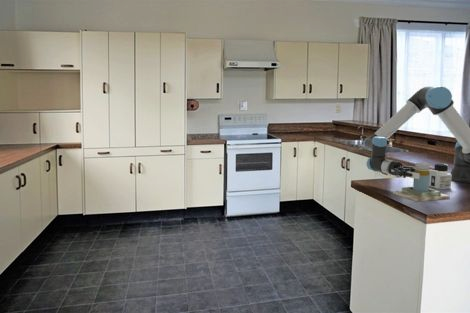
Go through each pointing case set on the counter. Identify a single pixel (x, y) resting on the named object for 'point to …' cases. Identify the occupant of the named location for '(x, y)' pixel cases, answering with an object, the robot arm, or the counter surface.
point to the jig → (420, 194)
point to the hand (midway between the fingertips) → (428, 175)
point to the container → (441, 177)
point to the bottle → (421, 178)
